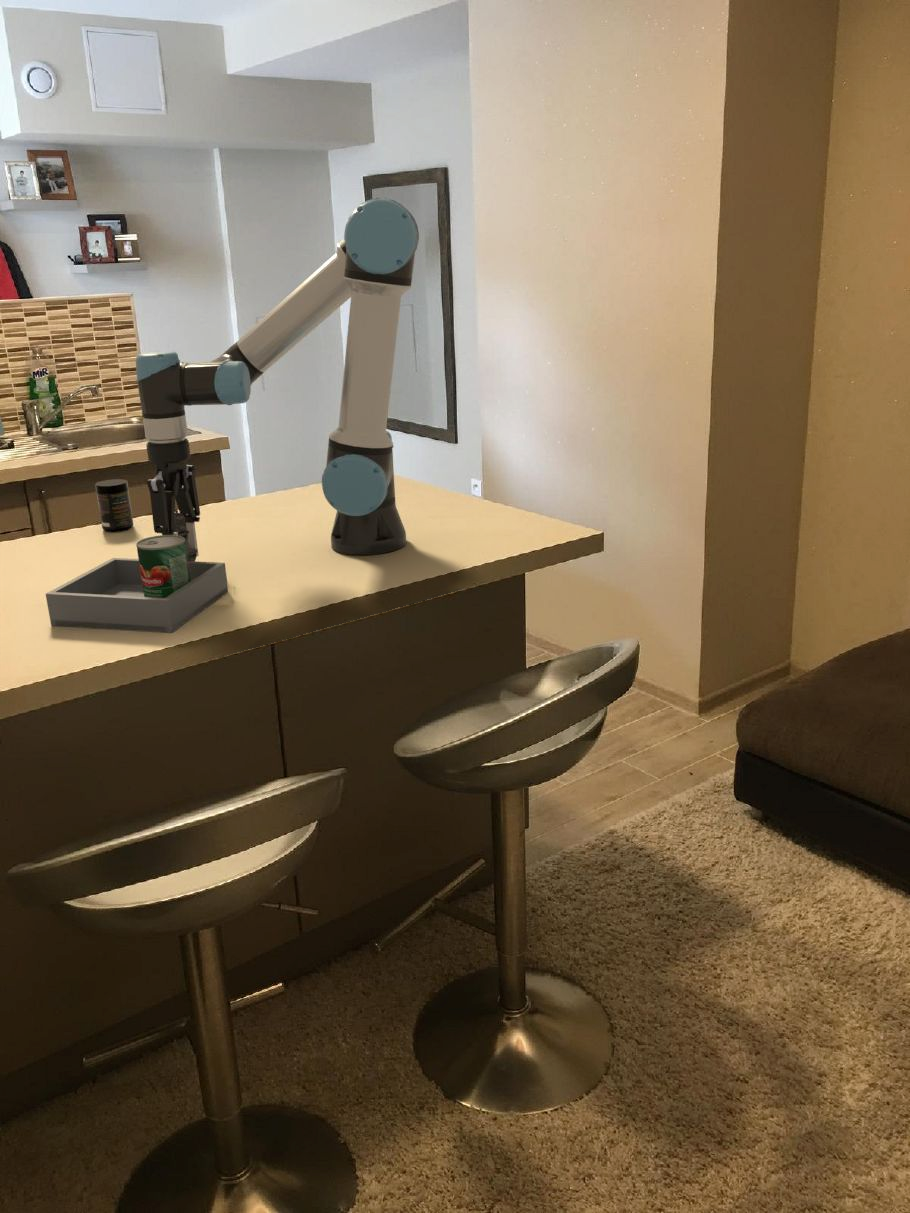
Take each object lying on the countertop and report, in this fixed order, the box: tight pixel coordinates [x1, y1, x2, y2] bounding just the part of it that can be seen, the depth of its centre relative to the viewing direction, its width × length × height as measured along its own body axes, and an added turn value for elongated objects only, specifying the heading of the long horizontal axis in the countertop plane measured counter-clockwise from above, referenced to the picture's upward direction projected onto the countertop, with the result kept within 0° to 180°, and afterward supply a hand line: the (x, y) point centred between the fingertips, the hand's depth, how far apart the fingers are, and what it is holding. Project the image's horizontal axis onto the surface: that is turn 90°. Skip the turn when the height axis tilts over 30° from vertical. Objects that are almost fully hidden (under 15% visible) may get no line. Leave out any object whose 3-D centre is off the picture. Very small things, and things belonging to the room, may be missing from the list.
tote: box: [45, 557, 229, 634], centre depth 172 cm, size 22×20×6 cm
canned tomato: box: [135, 534, 191, 598], centre depth 169 cm, size 8×8×11 cm
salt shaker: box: [174, 508, 199, 561], centre depth 190 cm, size 6×6×12 cm
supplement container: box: [94, 478, 134, 533], centre depth 222 cm, size 7×7×10 cm
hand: (182, 560), depth 192 cm, fingers closed on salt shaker, 6 cm apart
